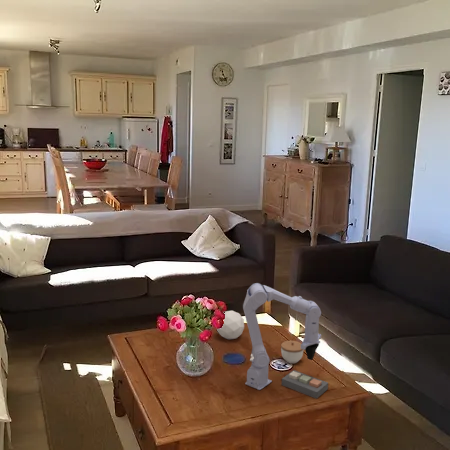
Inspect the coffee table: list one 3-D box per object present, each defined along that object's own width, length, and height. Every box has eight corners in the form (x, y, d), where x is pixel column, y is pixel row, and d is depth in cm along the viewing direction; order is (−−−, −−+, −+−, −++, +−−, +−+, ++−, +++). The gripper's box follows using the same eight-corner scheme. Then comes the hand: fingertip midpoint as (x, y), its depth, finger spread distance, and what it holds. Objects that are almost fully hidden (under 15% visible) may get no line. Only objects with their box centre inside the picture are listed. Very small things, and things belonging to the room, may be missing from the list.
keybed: (316, 398, 210) (317, 392, 209) (281, 384, 220) (281, 378, 220) (327, 389, 218) (328, 382, 217) (293, 376, 228) (293, 370, 227)
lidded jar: (295, 368, 235) (296, 349, 233) (276, 361, 242) (276, 342, 240) (307, 359, 244) (308, 341, 242) (287, 353, 250) (288, 335, 248)
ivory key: (296, 382, 219) (296, 377, 218) (288, 379, 221) (288, 374, 221) (300, 379, 222) (301, 373, 221) (293, 376, 224) (293, 371, 224)
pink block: (316, 390, 213) (317, 385, 212) (308, 387, 215) (309, 382, 215) (321, 387, 216) (321, 381, 215) (313, 384, 218) (313, 378, 218)
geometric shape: (231, 349, 264) (226, 335, 253) (213, 331, 273) (208, 316, 262) (251, 332, 268) (248, 317, 257) (233, 315, 277) (229, 300, 266)
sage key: (306, 386, 216) (306, 381, 215) (298, 383, 218) (299, 378, 218) (310, 383, 219) (311, 377, 218) (303, 380, 221) (303, 374, 221)
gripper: (311, 337, 211) (310, 367, 214) (327, 327, 222) (326, 355, 225) (296, 333, 216) (295, 362, 219) (313, 322, 227) (312, 351, 230)
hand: (310, 358), depth 222 cm, fingers closed
